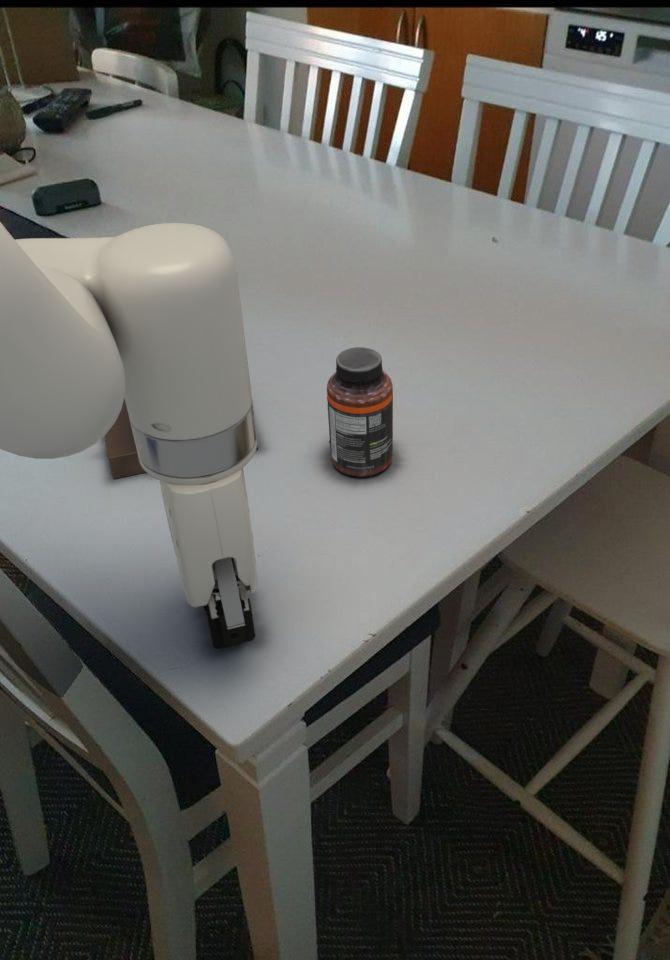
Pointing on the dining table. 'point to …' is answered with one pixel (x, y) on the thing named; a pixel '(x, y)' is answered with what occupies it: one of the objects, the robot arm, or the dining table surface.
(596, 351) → the dining table surface
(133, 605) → the dining table surface
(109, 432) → the panel
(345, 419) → the supplement bottle
